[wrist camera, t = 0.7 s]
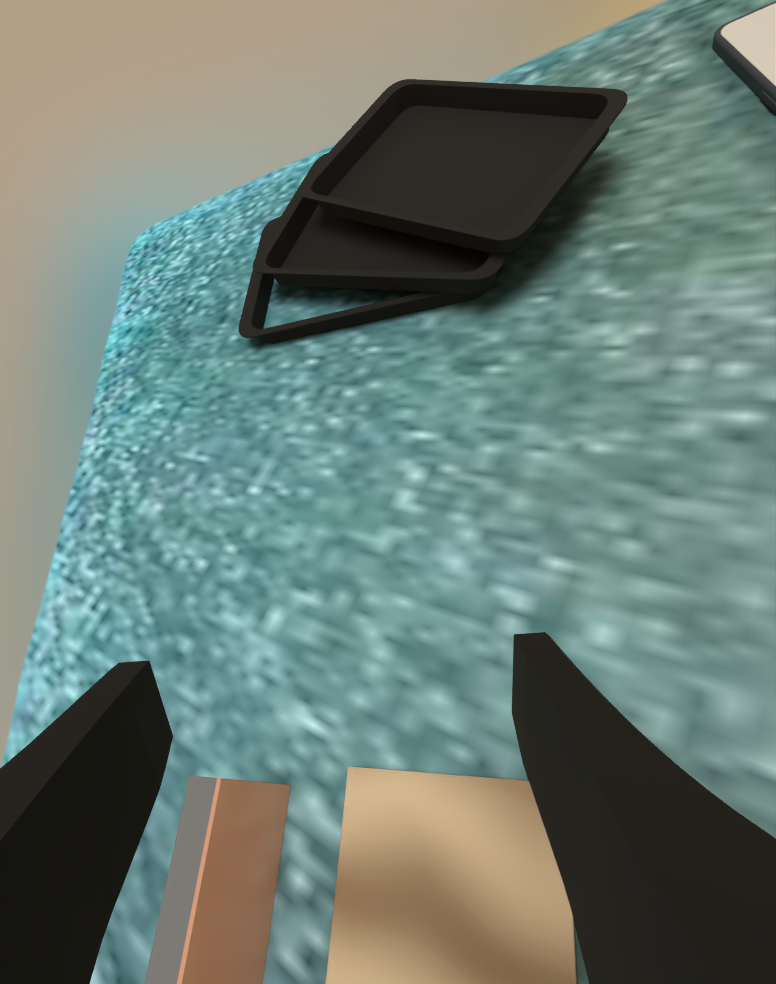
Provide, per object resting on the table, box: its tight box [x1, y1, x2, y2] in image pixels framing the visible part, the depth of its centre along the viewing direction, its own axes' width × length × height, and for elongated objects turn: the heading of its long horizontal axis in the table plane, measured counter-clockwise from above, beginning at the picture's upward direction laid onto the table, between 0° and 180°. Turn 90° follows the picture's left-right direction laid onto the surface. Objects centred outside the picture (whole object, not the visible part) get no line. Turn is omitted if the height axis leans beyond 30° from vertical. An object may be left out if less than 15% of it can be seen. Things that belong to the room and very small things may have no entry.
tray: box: [239, 79, 627, 343], centre depth 43 cm, size 30×23×5 cm
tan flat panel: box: [326, 767, 577, 984], centre depth 23 cm, size 12×10×1 cm
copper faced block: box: [145, 776, 291, 984], centre depth 25 cm, size 8×2×6 cm, turn 175°
